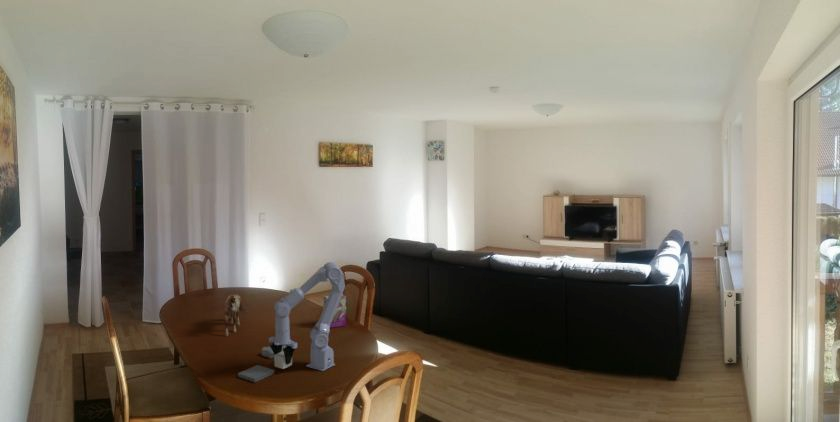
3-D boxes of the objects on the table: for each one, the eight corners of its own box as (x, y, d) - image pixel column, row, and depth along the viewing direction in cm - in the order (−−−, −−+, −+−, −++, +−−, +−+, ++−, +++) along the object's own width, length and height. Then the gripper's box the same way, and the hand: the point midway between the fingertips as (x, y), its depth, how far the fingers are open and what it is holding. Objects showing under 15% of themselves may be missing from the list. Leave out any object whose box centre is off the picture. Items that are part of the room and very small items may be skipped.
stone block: (295, 356, 235) (281, 347, 241) (295, 347, 234) (282, 338, 240) (273, 365, 226) (259, 355, 231) (273, 355, 225) (260, 346, 230)
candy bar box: (326, 329, 267) (326, 298, 265) (323, 326, 271) (323, 296, 270) (346, 326, 273) (346, 295, 271) (343, 323, 277) (343, 293, 275)
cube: (292, 364, 215) (291, 353, 214) (283, 368, 210) (283, 357, 210) (283, 362, 217) (283, 350, 217) (274, 366, 213) (274, 354, 212)
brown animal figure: (236, 338, 253) (235, 297, 251) (220, 339, 251) (218, 298, 249) (246, 319, 283) (245, 282, 281) (231, 320, 282) (230, 283, 280)
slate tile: (274, 373, 211) (274, 370, 211) (255, 382, 203) (255, 378, 202) (257, 368, 216) (257, 365, 216) (238, 376, 208) (237, 373, 208)
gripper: (262, 329, 213) (263, 361, 214) (288, 336, 205) (288, 368, 206) (275, 325, 219) (276, 356, 220) (300, 331, 211) (301, 363, 212)
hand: (283, 362), depth 214 cm, fingers closed on cube, 5 cm apart
